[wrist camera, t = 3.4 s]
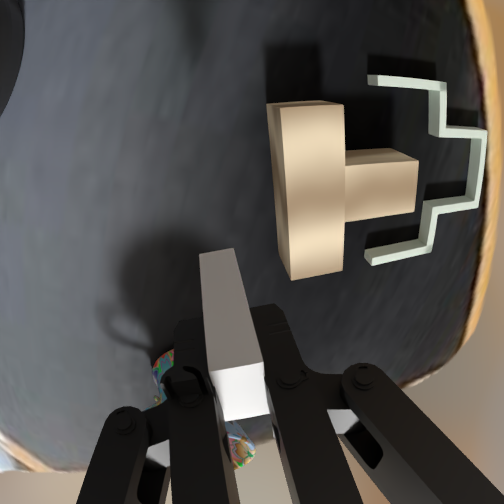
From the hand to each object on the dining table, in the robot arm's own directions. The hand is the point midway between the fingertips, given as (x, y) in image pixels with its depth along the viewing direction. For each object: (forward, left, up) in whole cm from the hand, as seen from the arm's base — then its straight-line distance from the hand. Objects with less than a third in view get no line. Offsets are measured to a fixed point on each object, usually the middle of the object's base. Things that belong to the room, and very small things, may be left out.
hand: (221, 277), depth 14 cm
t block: (0, +10, -10) cm, 14 cm away
